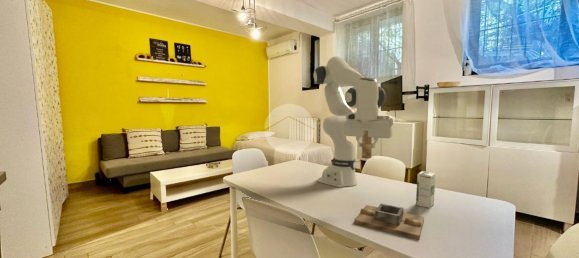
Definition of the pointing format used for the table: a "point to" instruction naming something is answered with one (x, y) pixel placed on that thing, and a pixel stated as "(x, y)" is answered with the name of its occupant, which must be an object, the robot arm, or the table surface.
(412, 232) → the wooden socket board
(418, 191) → the syrup box
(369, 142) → the pin
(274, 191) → the table surface
